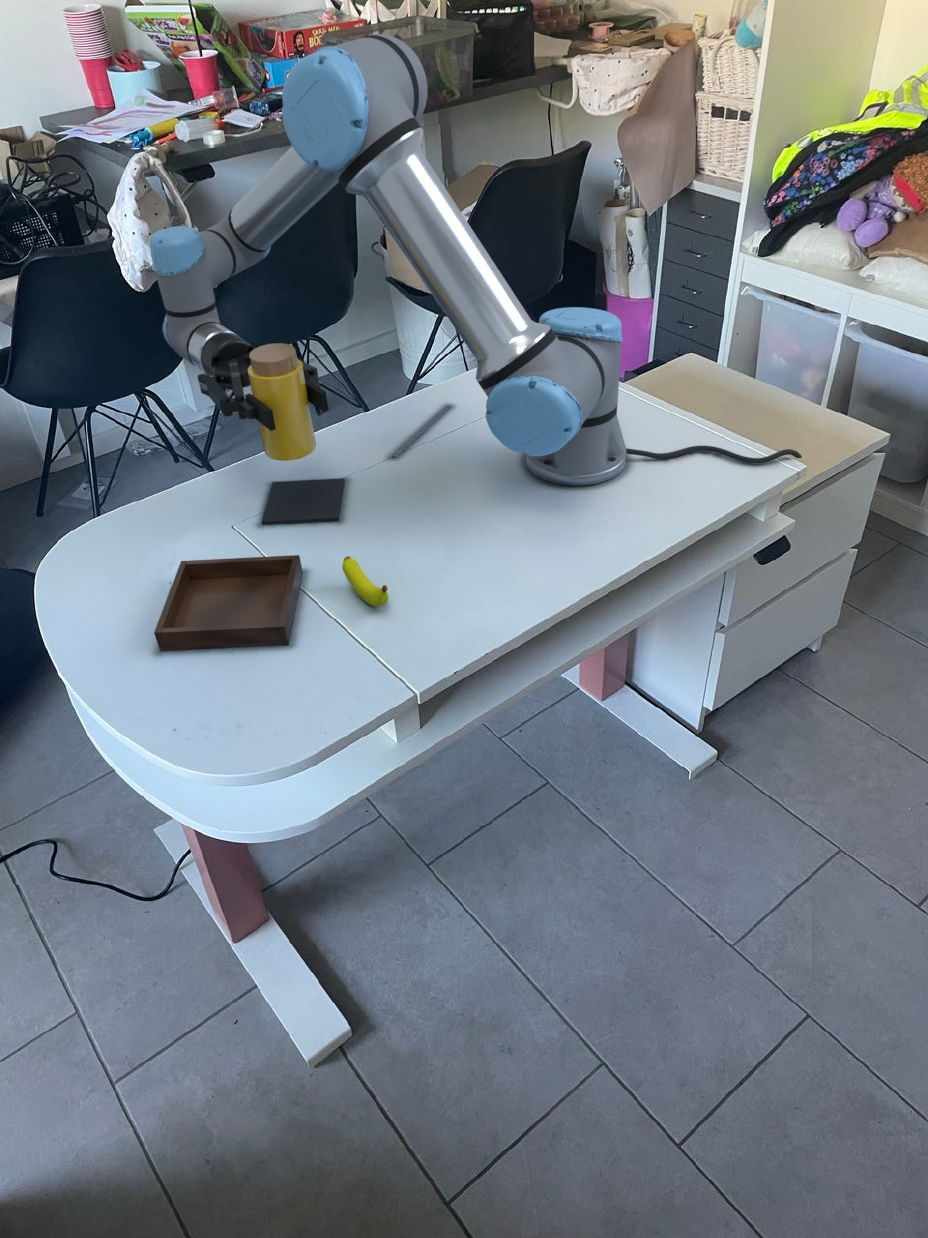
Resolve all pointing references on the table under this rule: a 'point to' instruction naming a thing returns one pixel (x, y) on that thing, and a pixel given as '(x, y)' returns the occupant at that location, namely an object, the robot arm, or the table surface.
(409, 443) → the rod
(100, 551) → the table surface
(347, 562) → the fruit
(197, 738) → the table surface
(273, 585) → the box
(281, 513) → the mat
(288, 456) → the jar
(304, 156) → the robot arm
